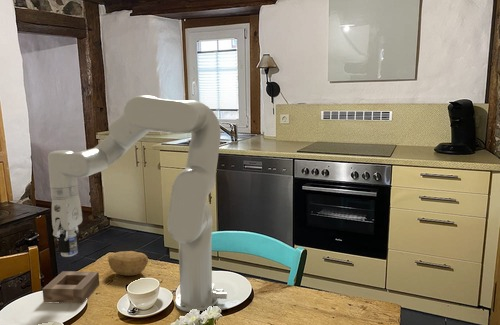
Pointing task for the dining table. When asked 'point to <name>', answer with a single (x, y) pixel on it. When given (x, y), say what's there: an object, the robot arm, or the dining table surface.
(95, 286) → the socket block
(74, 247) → the pill bottle
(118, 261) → the potato
